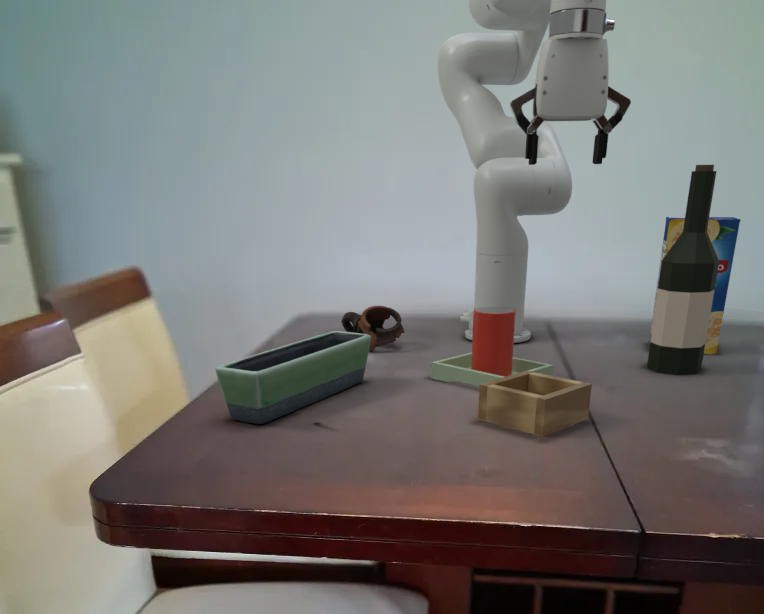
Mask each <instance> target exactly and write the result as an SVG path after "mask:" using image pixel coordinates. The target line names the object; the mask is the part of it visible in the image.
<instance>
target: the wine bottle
mask: <svg viewBox="0 0 764 614" xmlns="http://www.w3.org/2000/svg"><path fill="white" fill-rule="evenodd" d="M717 173H718V172H717V170H715V164H695V170H691V175H690V182H689V189H688V195H687V201H686V209H685V214H684V217H685V221H684V228H683V232H682V234H681V235H680V236H679V238H678V239H677V241H676V242H675V243H674V245H673V246H672V247H671V249H670V250H669V251H668V253H667V254H666V255H665V257H664V258H663V260H662V263H661V270H660V277H659V284H658V291H657V298H656V306H655V313H654V320H653V327H652V334H651V342H650V346H649V348H648V356H647V364H646V368H647V369H648V370H651V371H654V372H656V373H659V374H670V375H677V376H679V375H696V374H698V373H699V372H700V371H701V370H702V366H703V359H704V355H705V354H704V348H705V342H706V336H707V331H708V325H709V319H710V313H711V307H712V301H713V295H714V289H715V284H716V278H717V272H718V266H719V259H718V257H717V255H716V252H715V250H714V248H713V245H712V243H711V241H710V238H709V236H708V234H707V228H708V221H709V217H710V215H711V208H712V202H713V196H714V189H715V184H716V177H717Z"/></svg>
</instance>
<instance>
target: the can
mask: <svg viewBox="0 0 764 614" xmlns="http://www.w3.org/2000/svg"><path fill="white" fill-rule="evenodd" d="M472 312H473V337H472V340H471V352H472V361H471V369H472V370H477V371H481V372H486V373H491V374H495V375H500V376H505V377H506V376H510V375H512V361H513V357H514V346H515V345H514V344H515V343H514V330H515V314H516V311H515V310H514V309H511V308H505V307H482V308H476V309H474V308H473V311H472Z"/></svg>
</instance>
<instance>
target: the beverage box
mask: <svg viewBox="0 0 764 614" xmlns="http://www.w3.org/2000/svg"><path fill="white" fill-rule="evenodd" d="M684 221H685V216H666V217H665V225H664V232H663V240H662V246H661V253H660V254H661V255H660V261H659V262H660V263H659V268H658V275H657V281H656V282H657V284H656V289H655V297H654V302H653V303H654V304H653V310H652V317H651V318H652V319H651V326H650V332H649V339H648V345H649V347H650V342H651V334H652V327H653V320H654V313H655V306H656V298H657V291H658V284H659V277H660V270H661V263H662V260H663V258H664V257H665V255H666V254H667V253H668V251H669V250H670V249H671V247H672V246H673V245H674V243H675V242H676V241H677V239H678V238H679V236H680V235H681V234H682V232H683V228H684ZM740 222H741V219H740V218H737V217H734V216H709V221H708V228H707V234H708V236H709V238H710V241H711V243H712V245H713V248H714V250H715V252H716V255H717V257H718V259H719V266H718V272H717V278H716V284H715V289H714V295H713V301H712V307H711V313H710V319H709V325H708V331H707V336H706V342H705V348H704V354H703V355H717V353H718V347H719V341H720V335H721V331H722V324H723V318H724V312H725V307H726V302H727V296H728V292H729V291H728V290H729V286H730V285H729V284H730V279H731V273H732V269H733V262H734V257H735V253H736V251H735V250H736V246H737V240H738V235H739V229H740V224H741V223H740Z"/></svg>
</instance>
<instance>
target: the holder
mask: <svg viewBox="0 0 764 614" xmlns="http://www.w3.org/2000/svg"><path fill="white" fill-rule="evenodd" d="M592 385H593V384H592V383H589V382H585V381H580V380H576V379H575V380H574V379H570V378H566V377H559V376H555V375H553V376H550V375H545V374H541V373H536V372H531V371H524V372H521V373H517V374H514V375H510V376H507V377H503V378H500V379H496V380H493V381H489V382H486V383H482V384H480V386H478V389H479V391H478V394H479V395H478V407H477V408H478V410H477V420H479V421H483V422H487V423H491V424H495V425H498V426H502V427H505V428H509V429H513V430H516V431H520V432H523V433H528V434H531V435H536V436H539V437H542V438H543V437H546V436H548V435H551V434H553V433H555V432H558V431H561V430H564V429H567V428H568V427H571V426H574V425H577V424H579V423H581V422H584V421H587V420H588V419H589V412H590V404H591V395H592V387H593V386H592Z"/></svg>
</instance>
